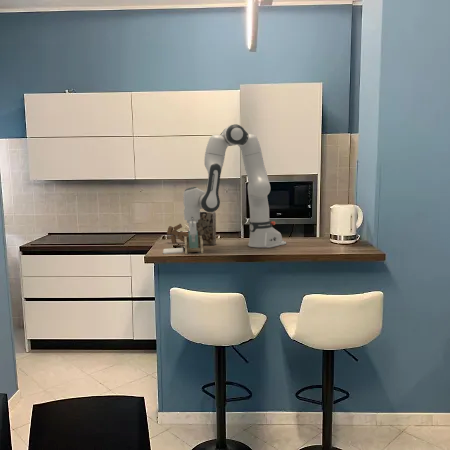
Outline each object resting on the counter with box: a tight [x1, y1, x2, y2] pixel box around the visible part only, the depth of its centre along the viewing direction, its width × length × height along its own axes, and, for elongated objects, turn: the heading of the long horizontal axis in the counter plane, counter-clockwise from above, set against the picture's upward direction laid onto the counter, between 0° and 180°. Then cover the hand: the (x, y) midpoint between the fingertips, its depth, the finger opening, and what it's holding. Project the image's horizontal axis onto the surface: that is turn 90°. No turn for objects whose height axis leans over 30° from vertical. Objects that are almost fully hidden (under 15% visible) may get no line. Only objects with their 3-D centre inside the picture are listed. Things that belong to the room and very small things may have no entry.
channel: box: [183, 236, 204, 255], centre depth 268 cm, size 18×10×7 cm, turn 5°
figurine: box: [166, 223, 189, 244], centre depth 294 cm, size 13×2×15 cm
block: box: [187, 230, 198, 248], centre depth 269 cm, size 5×5×9 cm
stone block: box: [196, 210, 217, 246], centre depth 286 cm, size 13×7×20 cm, turn 77°
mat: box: [162, 247, 184, 255], centre depth 269 cm, size 11×11×1 cm
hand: (193, 240), depth 269 cm, fingers open, 5 cm apart
